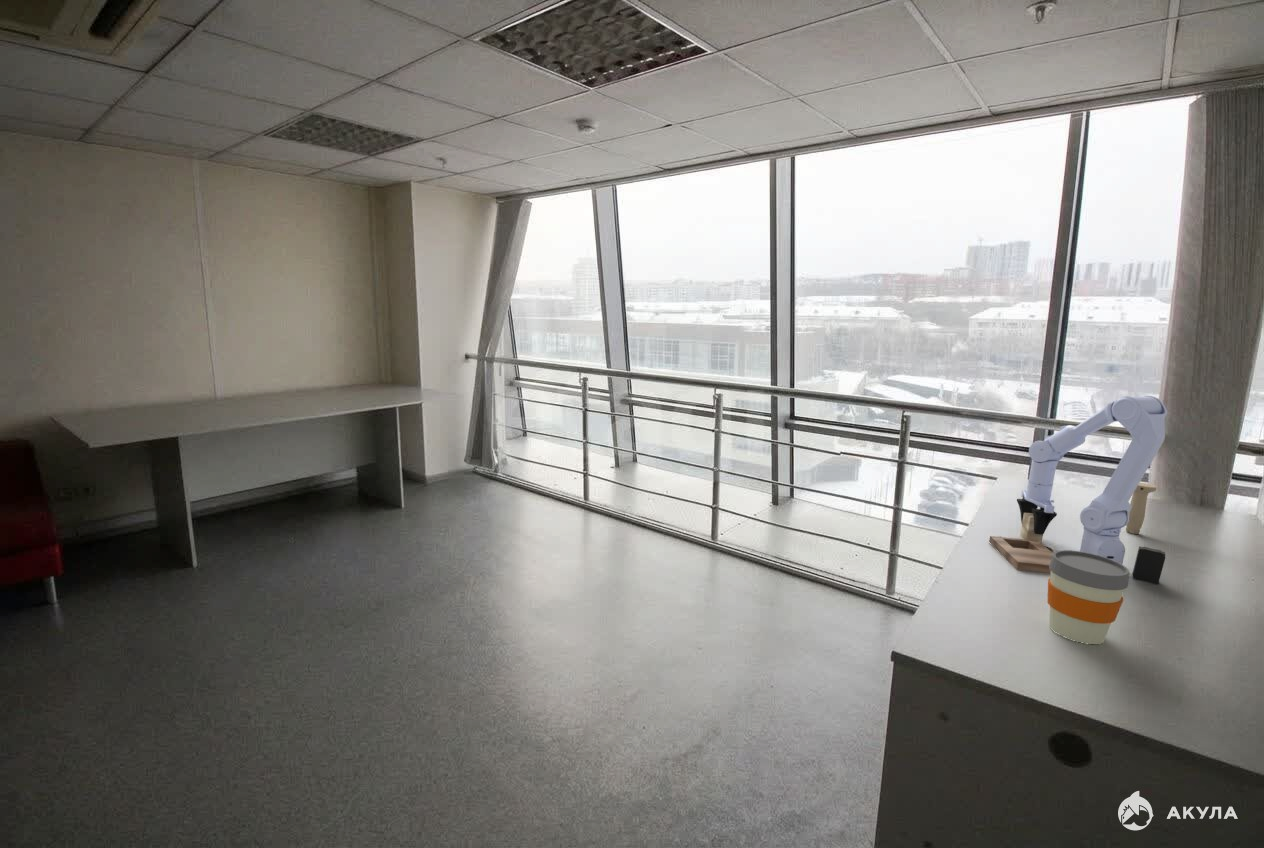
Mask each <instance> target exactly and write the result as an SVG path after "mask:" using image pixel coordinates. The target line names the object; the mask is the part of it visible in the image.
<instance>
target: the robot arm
mask: <svg viewBox="0 0 1264 848" xmlns="http://www.w3.org/2000/svg"><path fill="white" fill-rule="evenodd" d="M1167 415H1168V410H1167V408H1166V406H1165V405H1164V403H1163V401H1162V400H1161V399H1159V398H1158V397H1156V396H1152V395H1145V396H1121V397H1119V398H1117V399H1116V400H1115V401H1112V402H1109V403H1107V404H1106V405H1105V406H1104V407H1103V408H1101V409H1100V410H1098V411H1097V412H1096V413H1094V414H1092V415H1091V416H1090V417H1088V418H1086V419H1084V421H1082V422H1081V423H1079V424H1077V425H1073V424H1072V425H1069V424H1068V425H1061V427H1059V430H1058V431H1057V432H1055V433H1053V434H1052V435H1047V436H1045V437H1044V438H1045V439H1044V440H1036V441H1034V442H1033V443H1032V444H1030V446H1029V448H1028V454H1029V457H1030V458H1031V465H1030V471H1029V476H1028V482H1027V488H1026V490H1021V496H1020V497H1021V498H1017V499H1016V502H1017V504H1018V507H1019V512H1020V520H1021V523H1020V524H1022V521H1023V515H1024V513H1033V516H1034V533H1035V534H1041V535H1043V536H1044V533H1045V532H1046V530H1047V529H1048V526H1049V524H1050V523H1051V522H1052V521H1053V519H1054V518H1056V517H1057V516H1058V514H1057V512H1055V507H1056V506H1054V503H1055V500H1054V498H1051V496H1052V492H1053V487H1054V486H1053V485H1054V480H1055V475H1056V469H1057V466H1059V465H1058V464H1059V462H1060V460H1062V459H1063V457H1064V456H1065V454H1067V453H1068V452H1070V451H1072V450H1074V449H1076V448H1078V447H1079V446H1081V445H1083V444H1085V442H1086V438H1087V437H1088V436H1089V435H1092V434H1093V433H1095V432H1097V431H1100V430H1101V429H1103V428H1105V427H1107V426H1109V425H1112V424H1113V423H1116V422H1118V423H1120V425H1121V426H1123V428H1124V429H1126V430H1127V432H1128V433H1129V434H1130V436H1131V437H1132V440H1131V442H1129V445H1128V446H1127V448H1126V450H1125V452H1124V454H1123V456H1122V458H1121V459H1120V461H1119V462H1118V464H1117V466H1116V468H1115V470H1114V471H1113V474H1112V475H1111V477H1110V479H1109V480H1108V482H1107V484H1106V486H1105V487H1104V489H1103V492H1102V493H1100V494H1099V495H1098V496H1096V497H1095V498H1094V499H1092V501H1091V502H1090V504H1089V505H1088V506H1086V507H1083V508H1082V510H1081V512H1080V514H1079V519H1080V522H1081V524H1082V526H1083V533H1082V539H1081V543H1080V549H1079V551H1080V552H1086V553H1091V554H1095V555H1099V556H1102V557H1106V558H1108V559H1111V560H1114V561H1116V562H1118V563H1120V564H1122V565H1124V564H1123V563H1124V558H1125V554H1126V546H1125V544H1124V543H1123V542H1122V541H1121V538H1120V536H1121V535H1120V533H1121V531H1122V528H1124V527H1125V528H1126V527H1127V526H1126V525H1127V524H1128V521H1129V512H1130V510H1131V508H1132V507H1131V505H1130V502H1129V501H1131V499H1132V495H1133V493H1134V491H1135V489H1136V488H1137V486H1138V484H1139V483H1141V482H1142V479H1143V477H1144V476H1145V474H1146V472H1147V470H1148V469H1149V468H1150V465H1151V463H1152V462H1153V460H1154V459H1155V457H1156V456H1157V453H1159V452H1158V451H1159V450H1160V448H1161V447H1162V445H1163V443H1164V442H1165V439H1166V426H1165V423H1166V422H1165V421H1166V419H1165V418H1166V416H1167ZM1038 507H1039V508H1038Z"/></svg>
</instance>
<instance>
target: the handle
mask: <svg viewBox="0 0 1264 848" xmlns="http://www.w3.org/2000/svg"><path fill="white" fill-rule="evenodd" d="M1156 490H1157V486H1156V485H1154V484H1150V483H1147V482H1140V483H1139V484H1138V486H1137V488H1136V489H1135V491H1134V493H1133V495H1132V496H1131V498H1130V502H1129V504H1130V505H1131V507H1132V508H1131V510H1130V512H1129V521H1128V524H1127V525H1126V526H1125V532H1126V533H1129V534H1131V533H1132V535H1139V534H1140V532H1141V529H1142V526H1143V524H1144V522H1145V521H1144V520H1145V518H1146V517H1145V516H1146V508H1147V501H1148V496H1149V493H1154V492H1156Z"/></svg>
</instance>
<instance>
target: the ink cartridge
mask: <svg viewBox="0 0 1264 848" xmlns="http://www.w3.org/2000/svg"><path fill="white" fill-rule="evenodd" d="M1165 560H1166V552H1165V551H1162V550H1161V549H1156V548H1150V547H1149V546H1138V550H1137V553H1136V558H1135V563H1134V564H1133V565H1134V566H1133V570H1132V573H1131V575H1132V579H1134V580H1138V581H1142V582H1144V583H1145V582H1146V583H1149V584H1150V583H1151V584H1154V583H1155V584H1154V585H1158V584H1159V583H1160V579H1161V575H1162V571H1163V568H1164V566H1165V565H1164V564H1165Z"/></svg>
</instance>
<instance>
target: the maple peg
mask: <svg viewBox="0 0 1264 848" xmlns="http://www.w3.org/2000/svg"><path fill="white" fill-rule="evenodd" d="M1019 536H1020V537H1021V539H1026V540H1037V541H1039V542H1040V543H1042V542H1043V536H1044V534H1043V535H1041V534H1035V533H1034V516H1033V513H1024V515H1023V521H1022V523H1021V528H1020V533H1019Z"/></svg>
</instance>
